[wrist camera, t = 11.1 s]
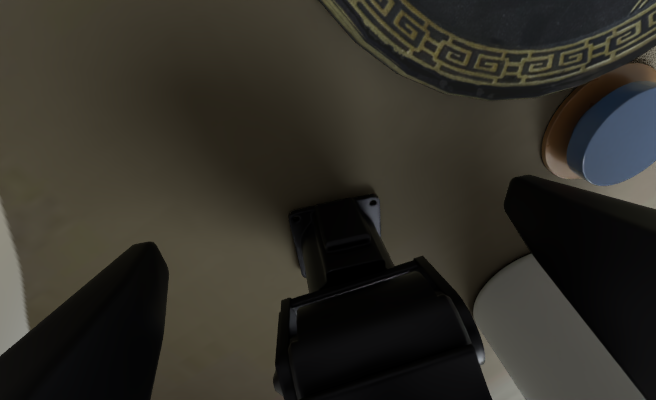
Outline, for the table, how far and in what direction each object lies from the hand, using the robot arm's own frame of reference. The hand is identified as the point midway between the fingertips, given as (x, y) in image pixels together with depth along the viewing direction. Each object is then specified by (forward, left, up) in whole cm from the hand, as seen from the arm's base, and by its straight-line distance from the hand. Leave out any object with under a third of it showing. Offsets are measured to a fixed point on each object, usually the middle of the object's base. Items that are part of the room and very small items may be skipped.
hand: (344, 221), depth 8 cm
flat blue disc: (-6, -21, -12) cm, 25 cm away
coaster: (-6, -21, -12) cm, 25 cm away
